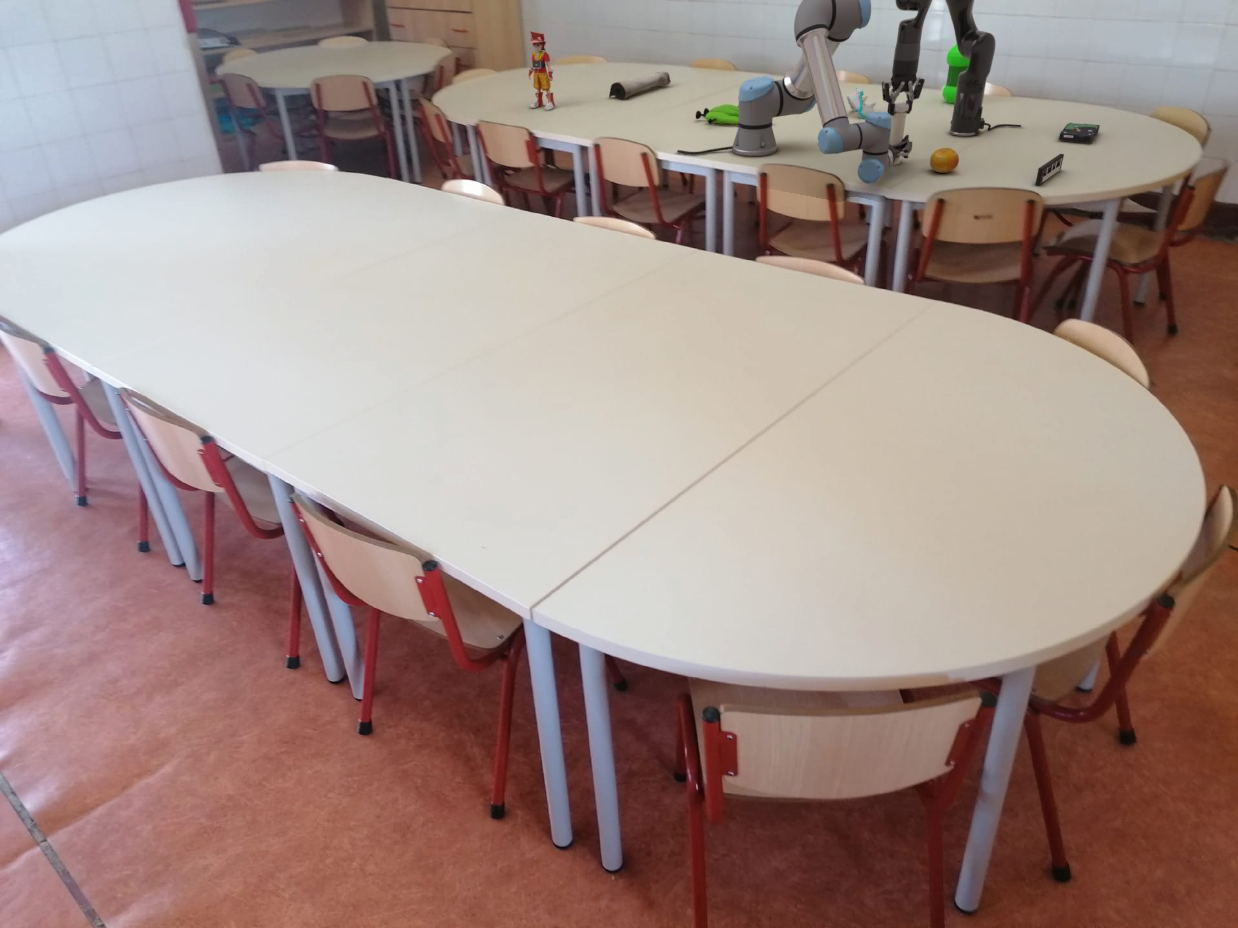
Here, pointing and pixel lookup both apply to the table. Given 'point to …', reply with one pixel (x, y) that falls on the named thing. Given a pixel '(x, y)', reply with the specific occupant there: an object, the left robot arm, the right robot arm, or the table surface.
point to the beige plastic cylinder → (897, 130)
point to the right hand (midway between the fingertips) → (899, 114)
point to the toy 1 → (541, 71)
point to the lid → (901, 107)
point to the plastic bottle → (954, 73)
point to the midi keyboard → (1049, 169)
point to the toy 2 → (721, 114)
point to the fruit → (944, 160)
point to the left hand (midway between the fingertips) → (899, 138)
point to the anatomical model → (860, 103)
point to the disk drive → (1079, 132)
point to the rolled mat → (638, 84)
